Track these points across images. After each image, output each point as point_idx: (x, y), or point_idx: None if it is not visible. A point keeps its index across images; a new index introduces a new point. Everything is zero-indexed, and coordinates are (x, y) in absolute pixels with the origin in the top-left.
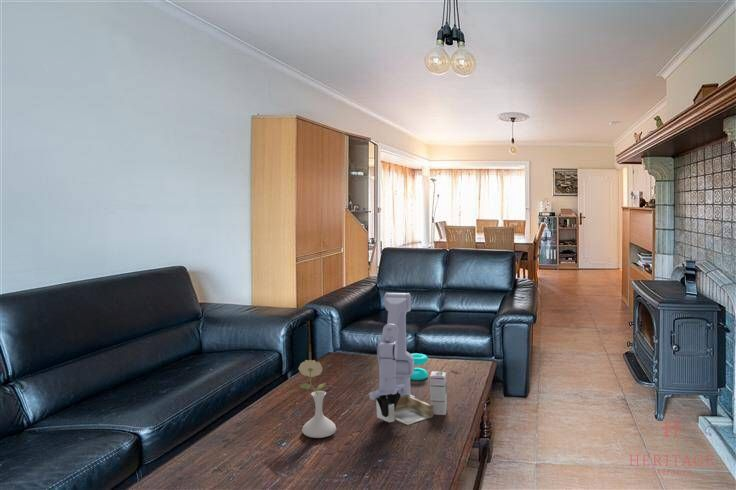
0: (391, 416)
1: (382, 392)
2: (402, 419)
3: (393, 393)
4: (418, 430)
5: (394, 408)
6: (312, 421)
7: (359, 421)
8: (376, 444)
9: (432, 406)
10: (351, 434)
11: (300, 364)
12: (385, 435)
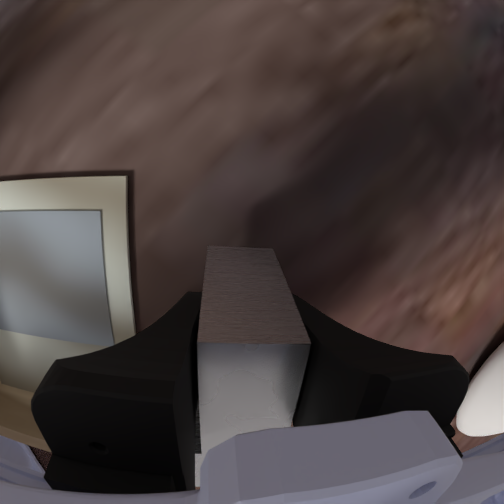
0: (247, 267)
1: None
2: (100, 271)
3: (435, 434)
4: (128, 60)
5: (185, 312)
6: None
7: None
8: (472, 122)
9: None
10: (463, 305)
11: None
12: (372, 161)
